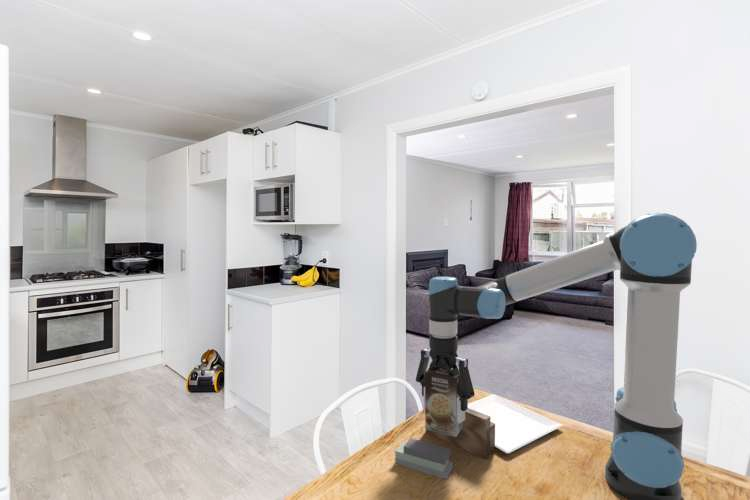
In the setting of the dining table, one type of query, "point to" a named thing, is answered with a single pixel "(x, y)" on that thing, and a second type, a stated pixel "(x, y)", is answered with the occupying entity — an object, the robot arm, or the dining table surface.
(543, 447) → the dining table surface
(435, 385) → the coffee box
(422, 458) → the sleeved eraser
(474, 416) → the walnut block
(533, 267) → the robot arm
